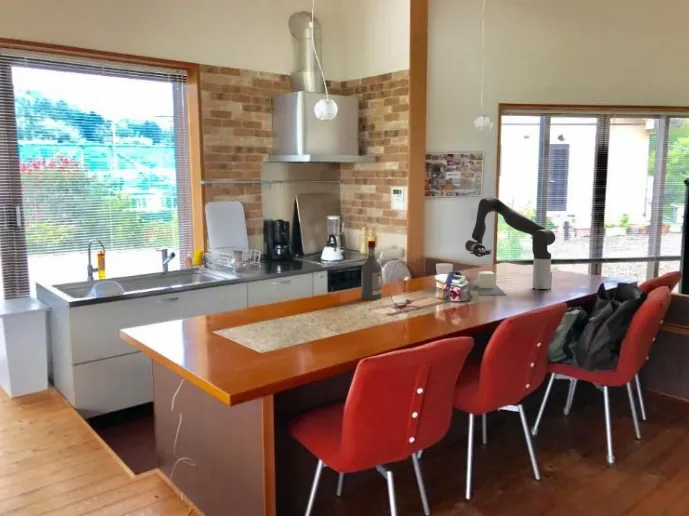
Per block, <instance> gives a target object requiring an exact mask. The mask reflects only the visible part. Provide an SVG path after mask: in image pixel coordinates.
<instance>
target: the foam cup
mask: <svg viewBox="0 0 689 516" xmlns="http://www.w3.org/2000/svg"><path fill="white" fill-rule="evenodd" d="M435 269H436V276H437V275H439V274H445V273H449V272H452V273H453V269H454V264H452V263H436V264H435Z"/></svg>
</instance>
